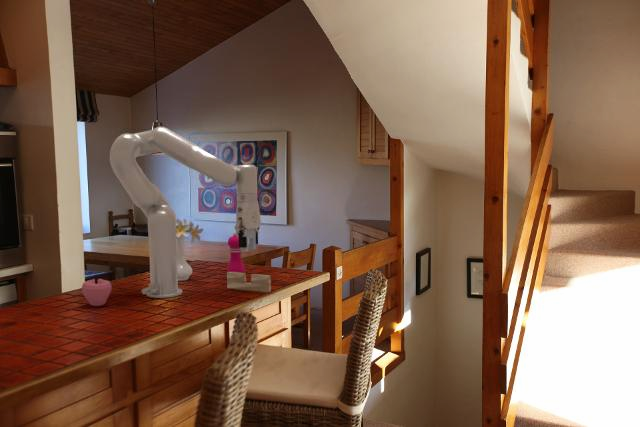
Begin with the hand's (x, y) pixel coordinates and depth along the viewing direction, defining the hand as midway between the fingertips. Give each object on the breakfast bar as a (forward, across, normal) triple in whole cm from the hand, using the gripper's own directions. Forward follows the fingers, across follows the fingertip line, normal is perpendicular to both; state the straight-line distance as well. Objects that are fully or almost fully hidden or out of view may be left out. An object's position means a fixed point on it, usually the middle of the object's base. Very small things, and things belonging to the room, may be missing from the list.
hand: (248, 245), depth 219 cm
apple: (+16, -41, +34) cm, 56 cm away
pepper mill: (+17, +11, +14) cm, 24 cm away
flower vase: (+17, +5, +36) cm, 39 cm away
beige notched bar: (+17, 0, 0) cm, 17 cm away
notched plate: (+2, 0, 0) cm, 2 cm away
